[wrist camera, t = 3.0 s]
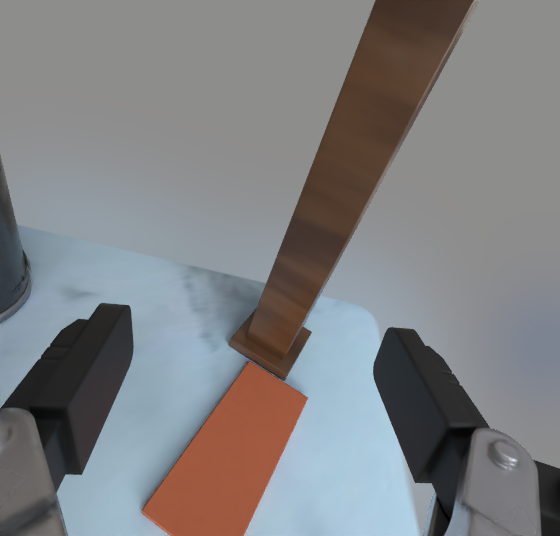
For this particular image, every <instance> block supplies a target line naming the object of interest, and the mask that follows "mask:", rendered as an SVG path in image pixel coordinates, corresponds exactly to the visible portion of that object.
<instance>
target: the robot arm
mask: <svg viewBox="0 0 560 536" xmlns="http://www.w3.org/2000/svg"><path fill="white" fill-rule="evenodd" d="M26 264H27V265H26ZM27 266H28V267H29V269H30V271H31V267H30V263H29V260H28V258H27V256H26V255H25V253H24V251H23V249H22V246H21V242H20V237H19V233H18V229H17V224H16V220H15V216H14V212H13V207H12V203H11V199H10V194H9V190H8V186H7V182H6V178H5V173H4V169H3V165H2V160H1V156H0V323H1V322H2V321H4V320H6V319H7V318H9V317H10V316H11V315H13V314H14V313H15V312H16V311H17V310H18V309H19V308H20V307H21V306H22V305H23V304H24V303H25V301H26V300H27V298H28V296H29V294H30V291H31V279H30V274H29V271H28V269H27ZM31 273H32V272H31ZM132 356H133V332H132V318H131V309H130V306H129V305H119V304H107V303H101V304H99V306H98V307H97V308H96V310H95V311H94V313H93V314H92V315H91V317H90V318H89V320H85V319H78V320H76V321H75V322H73V323H72V324H70V325H69V326H67V327H66V328H64V329H63V330H61V331H60V333H59V334H58V335H57V336H56V338H55V339H54V340H53V342H52V343H51V344H50V347H48V348H47V349H46V351H45V352H44V353H43V354H42V356H41V359H39V360H38V361H37V362H36V363H35V365H34V366H33V367H32V369H31V370H30V371H29V372H28V374H27V375H26V376H25V377H24V379H23V380H22V381H21V383H20V384H19V385H18V386H17V388H16V389H15V390H14V392H13V393H12V394H11V395H10V397H9V398H8V399H7V401H6V402H5V403H4V404H3V406H2V407H1V408H0V536H68V533H67V530H66V526H65V523H64V519H63V515H62V512H61V508H60V505H59V501H58V497H57V494H56V493H57V490H58V488H59V486H60V484H61V482H62V480H63V478H64V476H65V474H73V475H82V473H83V471H84V468H85V466H86V464H87V462H88V459H89V457H90V455H91V453H92V450H93V448H94V446H95V444H96V441H97V439H98V437H99V435H100V432H101V430H102V428H103V425H104V423H105V421H106V419H107V416H108V414H109V412H110V410H111V407H112V405H113V403H114V401H115V398H116V396H117V394H118V391H119V389H120V387H121V385H122V382H123V380H124V378H125V376H126V373H127V371H128V369H129V366H130V364H131V360H132ZM373 375H374V380H375V383H376V386H377V388H378V391H379V393H380V396H381V398H382V401H383V403H384V406H385V408H386V411H387V413H388V416H389V419H390V421H391V424H392V426H393V429H394V431H395V434H396V436H397V439H398V441H399V444H400V446H401V449H402V451H403V454H404V456H405V459H406V461H407V464H408V466H409V469H410V471H411V474H412V476H413V479H414V481H415V483H432V485H433V487H434V489H435V493H434V495H433V496H432V499H431V503H430V507H429V512H428V516H427V520H426V525H425V528H424V532H423V536H560V469H559V468H556V467H553V466H550V465H547V464H544V463H541V462H538V461H535V460H533V459H532V457H531V456H530V454H529V453H528V452H527V451H526V450H525V449H524V448H523V447H522V446H521V445H520V444H519V443H518V442H517V441H515V440H514V439H513V438H511V437H510V436H508V435H506V434H504V433H502V432H500V431H498V430H495V429H491V428H490V427H489V426H488V424H487V423H486V421H485V420H484V418H483V417H482V415H481V414H480V412H479V411H478V409H477V408H476V406H475V405H474V404H473V402H472V401H471V399H470V398H469V396H468V395H467V393H466V392H465V390H464V389H463V387H462V386H460V385H459V381H458V380H457V378H456V377H455V375H454V374H452V371H451V370H450V368H449V367H448V365H447V364H446V362H445V361H444V359H443V358H442V357H441V356H440V355H439V354H437V353H436V352H435V351H434V350H433V349H432V348H430V347H429V346H425V345H424V343H423V342H422V340H421V339H420V337H419V335H418V334H417V332H416V331H415V330H413V329H405V328H393V327H392V328H391V327H390V328H388V329H387V331H386V333H385V335H384V338H383V341H382V343H381V346H380V349H379V351H378V354H377V357H376V359H375V362H374V367H373Z"/></svg>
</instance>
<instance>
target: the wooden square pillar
mask: <svg viewBox="0 0 560 536" xmlns="http://www.w3.org/2000/svg"><path fill="white" fill-rule="evenodd" d="M479 1H480V0H376V1H375V3H374V5H373V8H372V11H371V13H370V16H369V18H368V21H367V24H366V26H365V29H364V32H363V34H362V37H361V39H360V42H359V44H358V47H357V50H356V52H355V55H354V57H353V60H352V63H351V65H350V68H349V70H348V73H347V76H346V78H345V81H344V83H343V86H342V88H341V91H340V94H339V96H338V99H337V102H336V104H335V107H334V109H333V112H332V114H331V117H330V120H329V122H328V125H327V127H326V130H325V133H324V135H323V138H322V140H321V143H320V146H319V149H318V151H317V153H316V156H315V159H314V161H313V164H312V166H311V169H310V172H309V174H308V177H307V179H306V182H305V185H304V187H303V190H302V192H301V195H300V198H299V201H298V203H297V205H296V208H295V211H294V213H293V216H292V218H291V221H290V224H289V226H288V229H287V231H286V234H285V237H284V239H283V242H282V244H281V247H280V249H279V252H278V255H277V258H276V260H275V263H274V265H273V268H272V271H271V273H270V275H269V278H268V281H267V283H266V286H265V288H264V291H263V294H262V296H261V299H260V301H259V304H258V307H257V308H256V309H255V310H254V312H253V313H252V314H251V315H250V316H249V318H248V319H247V320H246V321H245V322H244V323H243V325H242V326H241V327H240V328H239V329H238V331H237V332H236V333H235V334H234V335H233V337H232V338H231V339H230V342H229V346H231V347H232V348H234V349H235V350H237V351H239V352H240V353H242V354H243V355H245V356H246V357H248V358H249V359H251V360H253V361H254V362H256V363H257V364H259V365H260V366H262V367H264V368H265V369H267V370H268V371H270V372H271V373H273V374H275V375H276V376H278V377H279V378H281V379H282V380H285V379H286V377H287V375H288V373H289V372H290V370H291V368H292V366H293V365H294V363H295V361H296V359H297V358H298V356H299V354H300V352H301V351H302V349H303V347H304V345H305V343H306V342H307V340H308V338H309V336H310V335H311V333H312V332H311V331H309V330H307V329H306V328H304V327H303V326H304V324H305V322H306V320H307V318H308V317H309V315H310V313H311V311H312V309H313V307H314V306H315V304H316V302H317V300H318V298H319V296H320V294H321V292H322V291H323V289H324V287H325V285H326V283H327V281H328V280H329V278H330V276H331V274H332V272H333V270H334V269H335V267H336V265H337V263H338V261H339V259H340V258H341V256H342V254H343V252H344V250H345V248H346V247H347V245H348V243H349V241H350V239H351V237H352V235H353V234H354V232H355V230H356V228H357V226H358V224H359V223H360V221H361V219H362V217H363V215H364V213H365V211H366V210H367V208H368V206H369V204H370V202H371V200H372V199H373V197H374V195H375V193H376V191H377V189H378V187H379V186H380V184H381V182H382V180H383V178H384V176H385V175H386V173H387V171H388V169H389V167H390V165H391V164H392V162H393V160H394V158H395V156H396V154H397V152H398V151H399V149H400V147H401V145H402V143H403V141H404V140H405V138H406V136H407V134H408V132H409V130H410V128H411V127H412V125H413V123H414V121H415V119H416V117H417V116H418V114H419V112H420V110H421V108H422V106H423V105H424V103H425V101H426V99H427V97H428V95H429V93H430V92H431V90H432V88H433V86H434V84H435V82H436V81H437V79H438V77H439V75H440V73H441V71H442V69H443V68H444V66H445V64H446V62H447V60H448V58H449V56H450V55H451V53H452V51H453V49H454V47H455V45H456V44H457V42H458V40H459V38H460V36H461V34H462V33H463V31H464V29H465V27H466V25H467V23H468V22H469V20H470V18H471V16H472V14H473V12H474V10H475V9H476V7H477V5H478V3H479Z"/></svg>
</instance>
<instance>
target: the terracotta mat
mask: <svg viewBox="0 0 560 536" xmlns="http://www.w3.org/2000/svg"><path fill="white" fill-rule="evenodd" d="M307 399H308V397H306V396H304V395H303V394H301V393H300V392H298V391H297V390H295V389H293V388H292V387H290V386H289V385H287V384H286V383H284V382H282V381H281V380H279V379H278V378H276V377H275V376H273V375H272V374H270V373H268V372H267V371H265V370H264V369H262V368H261V367H259V366H257V365H256V364H254V363H253V362H251V361H249V362H248V363H247V365H246V366H245V368H244V369H243V370H242V372H241V373H240V375H239V376H238V377H237V379H236V380H235V382H234V383H233V384H232V386H231V387H230V389H229V390H228V391H227V393H226V394H225V395H224V397H223V398H222V400H221V401H220V402H219V404H218V405H217V407H216V408H215V409H214V411H213V412H212V414H211V415H210V416H209V418H208V419H207V420H206V422H205V423H204V425H203V426H202V427H201V429H200V430H199V432H198V433H197V434H196V436H195V437H194V439H193V440H192V441H191V443H190V444H189V446H188V447H187V448H186V450H185V451H184V452H183V454H182V455H181V457H180V458H179V459H178V461H177V462H176V464H175V465H174V466H173V468H172V469H171V471H170V472H169V473H168V475H167V476H166V478H165V479H164V480H163V482H162V483H161V484H160V486H159V487H158V489H157V490H156V491H155V493H154V494H153V496H152V497H151V498H150V500H149V501H148V503H147V504H146V505H145V507H144V508H143V510H142V514H144V515H145V516H146V517H148V518H149V519H150V520H151V521H153V522H154V523H155V524H157V525H158V526H159V527H160V528H162V529H163V530H164V531H166V532H167V533H168V534H169V535H171V536H244V534H245V532H246V529H247V527H248V525H249V523H250V521H251V519H252V517H253V515H254V512H255V510H256V508H257V506H258V504H259V502H260V500H261V497H262V495H263V493H264V491H265V489H266V487H267V485H268V483H269V480H270V478H271V476H272V474H273V472H274V470H275V468H276V465H277V463H278V461H279V459H280V457H281V455H282V453H283V451H284V448H285V446H286V444H287V442H288V440H289V438H290V436H291V433H292V431H293V429H294V427H295V425H296V423H297V421H298V418H299V416H300V414H301V412H302V410H303V408H304V406H305V404H306V401H307Z"/></svg>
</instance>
